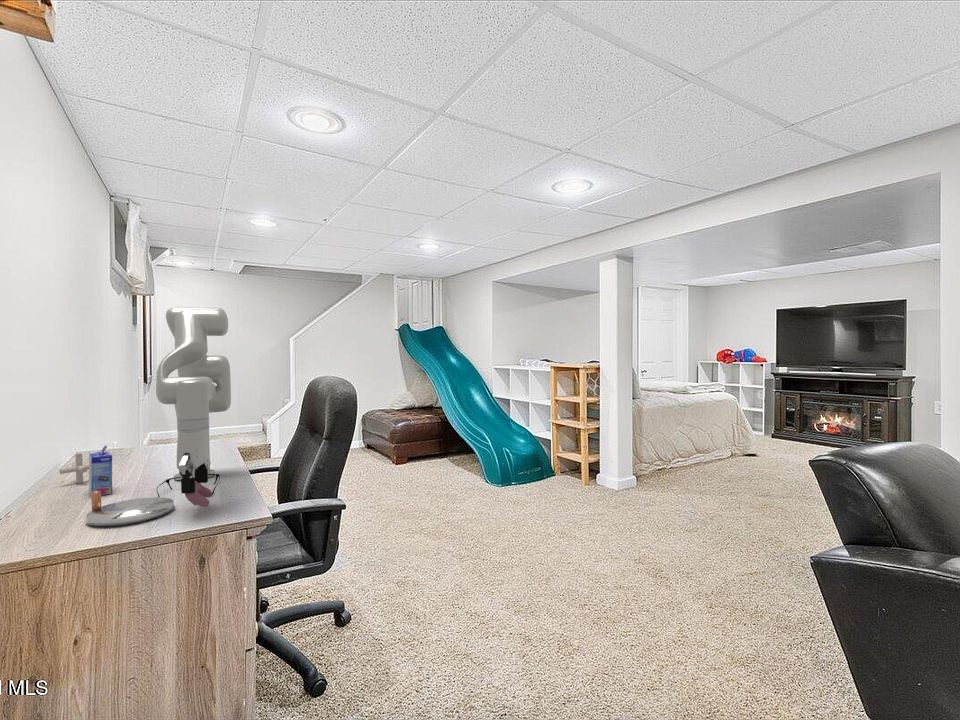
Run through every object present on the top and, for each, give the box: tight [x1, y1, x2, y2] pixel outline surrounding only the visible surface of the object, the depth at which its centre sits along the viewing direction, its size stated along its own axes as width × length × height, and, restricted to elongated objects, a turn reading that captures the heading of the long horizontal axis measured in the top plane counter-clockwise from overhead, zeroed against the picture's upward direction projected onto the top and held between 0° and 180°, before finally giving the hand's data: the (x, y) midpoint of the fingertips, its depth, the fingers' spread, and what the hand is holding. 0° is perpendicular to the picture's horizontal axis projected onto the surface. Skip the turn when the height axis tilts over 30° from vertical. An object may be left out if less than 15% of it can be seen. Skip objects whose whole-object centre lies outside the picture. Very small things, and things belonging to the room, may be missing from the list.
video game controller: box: [184, 481, 213, 508], centre depth 133 cm, size 10×5×7 cm, turn 24°
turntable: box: [85, 490, 175, 527], centre depth 130 cm, size 19×19×6 cm
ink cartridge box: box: [88, 444, 113, 496], centre depth 153 cm, size 10×6×14 cm, turn 42°
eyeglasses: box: [156, 473, 221, 497], centre depth 151 cm, size 16×16×4 cm
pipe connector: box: [59, 452, 89, 484], centre depth 165 cm, size 10×10×10 cm
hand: (195, 487), depth 133 cm, fingers closed on video game controller, 8 cm apart
